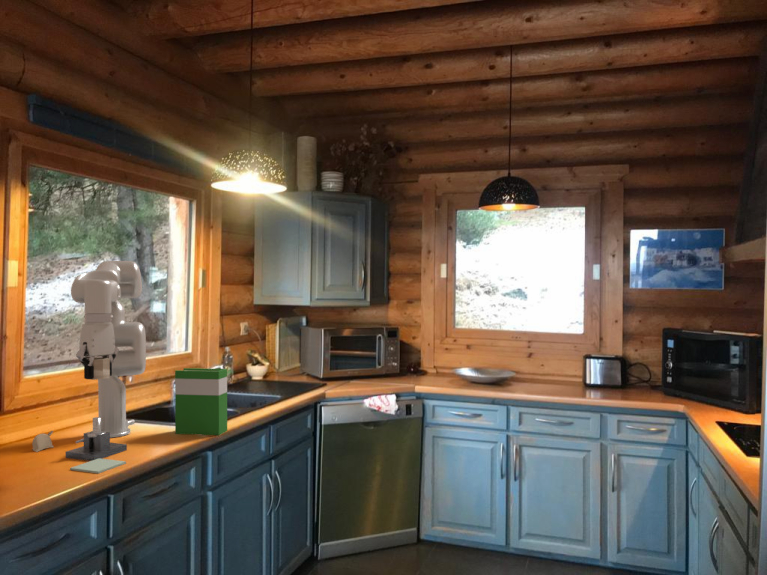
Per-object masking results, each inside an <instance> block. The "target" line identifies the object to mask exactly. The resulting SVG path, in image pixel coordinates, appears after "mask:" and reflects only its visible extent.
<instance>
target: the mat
mask: <svg viewBox="0 0 767 575" xmlns="http://www.w3.org/2000/svg"><path fill="white" fill-rule="evenodd" d="M126 464H127V461H123V460H116V459H106V458H102V459H101V458H98V459H95V460H92V461H86V462H84V463H81V464H78V465H75V466H71V467H69V470H70V471H77V472H84V473H92V474H101V473H104V472H107V471H110V470H112V469H115V468H117V467H121V466H122V465H126Z"/></svg>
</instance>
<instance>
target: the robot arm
mask: <svg viewBox="0 0 767 575" xmlns="http://www.w3.org/2000/svg"><path fill="white" fill-rule="evenodd" d="M142 292H143V282H142V275H141V270H140V266H139V265H138V264H137V262H135V261H133V260H106V261H103V262H101V263H99V264H98V266H97V267H96V269H95V270H92V271H89V272H84V273H81V274H78V275H77V276H75V278H74V280H73V282H72V284H71V288H70V296H71V298H72V300H73V301H74V302H75V303H79V304H84V324H82V327H81V330H80V336H79V345H78V346H79V348H78V350H77V352H76V353H75V356H76V358H77V359H78V360H79V362H80V363H81V365H82V366H83V369H84V370H83V378H84V379H85V380H90V379H93V378H94V366H92V363H93V360H94V358H110V378H107V379H97V387H98V388H97V389H98V390H97V392H98V394H97V396H98V405H97V406H98V413H97V414H98V417H101V431H105V432H110V439H111V438H119V437H124V436H127V435H129V434H130V433H131V428H129V427H130V426H133V425H135V423H136V421H135V419H129V420H128V419H127V409H126V408H127V406H126V405H127V388H126V385H125V383H124V382H123V381H122V379H121V378H119V377H121V376H122V377H123V376H136V375H137V376H140V375H142V374H143V373H144V372H146V371H145V370H146V366H147V359H146V358H147V348H146V347H147V338H146V334H147V333H146V328H145V326H144V324H143V323H141V322H139V321H126V318H125V314H126V312H125V307H124V306H123V305H122V303H120V301H119V299H137V298H139V297H140V296H141V294H142ZM128 347H130V348H132V350H131V349H130V350H128V349H126V350H120V349H119V348H128ZM88 359H89V361H88Z"/></svg>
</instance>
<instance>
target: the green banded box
mask: <svg viewBox="0 0 767 575" xmlns="http://www.w3.org/2000/svg"><path fill="white" fill-rule="evenodd" d="M174 389H175V390H174V392H175V393H174V396H175V397H174V399H175V400H174V402H175V403H174V404H175V405H174V406H175V408H174V410H175V411H174V418H175V419H174V420H175V421H174V422H175V424H174V426H175V431H174V432H175V434H176V435H195V434H202V435H203V436H221V435H222V434H224V433H226V432H227V431H228V368H205V367H204V368H195V367H194V368H193V367H192V368H191V367H188V368H187V367H186V368H185V367H184V368H183V370H181V369H179V370H174Z"/></svg>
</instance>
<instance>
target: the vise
mask: <svg viewBox="0 0 767 575" xmlns="http://www.w3.org/2000/svg"><path fill="white" fill-rule="evenodd" d="M79 443H83V446H80V447H77V448H73V449H70V450H67V451H65V459H70V460H71V459H72V460H73V459H74V460H79V461H80V460H82V461H86V462H89V461H92V460H95V459H98V458H101V459H106V458H107V457H111V456H114V455H116V454H119V453H122V452H125V451H127V448H128V444H127V443H118V442H111V438H110V432H105V431H101V417H99V416H96V417H92V430H91V431H88V432H84V433H83V438H81V439H79V440H76V441H75V444H79Z"/></svg>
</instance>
